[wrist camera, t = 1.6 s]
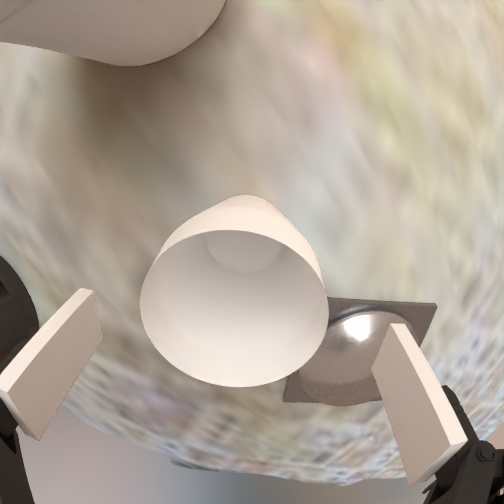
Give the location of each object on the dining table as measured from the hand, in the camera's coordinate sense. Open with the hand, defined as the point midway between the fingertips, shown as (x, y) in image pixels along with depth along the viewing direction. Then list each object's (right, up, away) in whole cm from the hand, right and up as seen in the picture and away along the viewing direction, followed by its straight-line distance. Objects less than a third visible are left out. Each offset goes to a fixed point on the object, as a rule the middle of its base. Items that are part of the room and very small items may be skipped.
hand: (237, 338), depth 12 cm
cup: (0, +5, +12) cm, 13 cm away
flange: (+12, -7, +17) cm, 22 cm away
